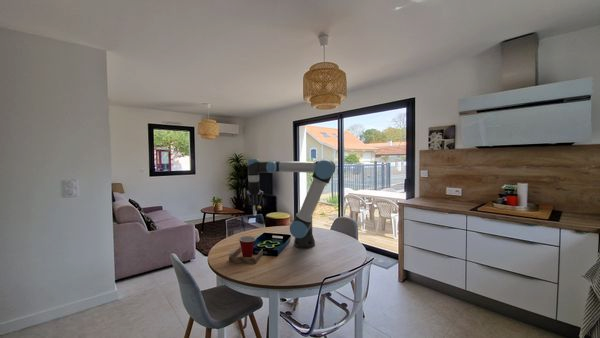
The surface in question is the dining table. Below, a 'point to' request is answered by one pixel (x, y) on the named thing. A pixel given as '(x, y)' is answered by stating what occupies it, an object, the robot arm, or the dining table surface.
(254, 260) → the frame
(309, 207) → the robot arm
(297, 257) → the dining table surface
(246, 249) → the plastic cup
